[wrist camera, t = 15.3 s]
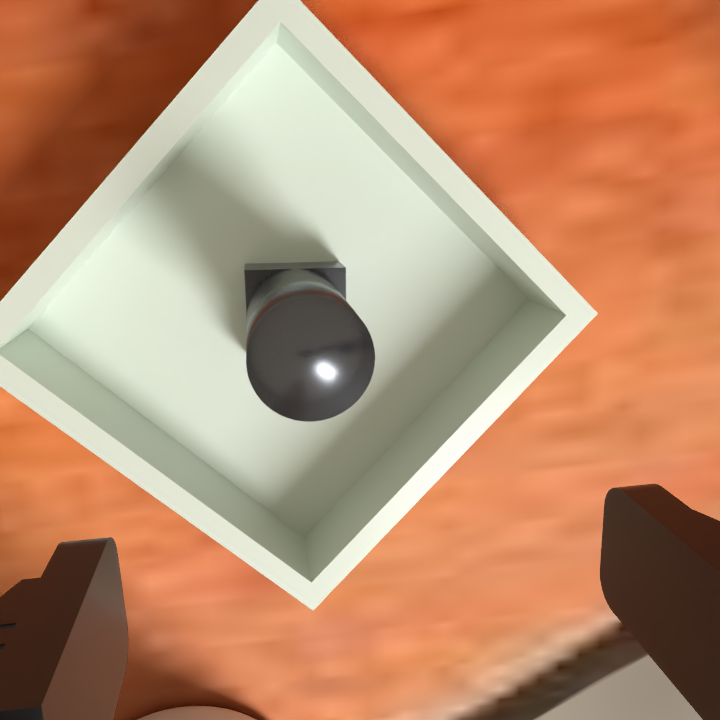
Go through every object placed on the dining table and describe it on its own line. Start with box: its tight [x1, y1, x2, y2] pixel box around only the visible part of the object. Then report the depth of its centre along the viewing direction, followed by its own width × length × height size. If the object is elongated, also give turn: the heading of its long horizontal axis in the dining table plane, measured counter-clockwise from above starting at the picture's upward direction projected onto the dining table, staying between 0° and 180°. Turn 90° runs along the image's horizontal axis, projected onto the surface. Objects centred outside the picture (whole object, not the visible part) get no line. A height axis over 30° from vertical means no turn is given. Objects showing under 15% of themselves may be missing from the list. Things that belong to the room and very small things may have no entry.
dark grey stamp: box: [244, 261, 375, 422], centre depth 27 cm, size 4×4×9 cm
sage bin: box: [0, 0, 598, 610], centre depth 30 cm, size 18×18×5 cm
